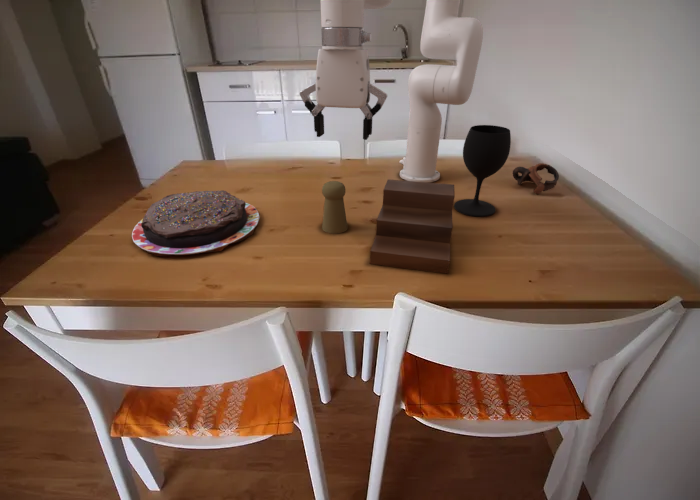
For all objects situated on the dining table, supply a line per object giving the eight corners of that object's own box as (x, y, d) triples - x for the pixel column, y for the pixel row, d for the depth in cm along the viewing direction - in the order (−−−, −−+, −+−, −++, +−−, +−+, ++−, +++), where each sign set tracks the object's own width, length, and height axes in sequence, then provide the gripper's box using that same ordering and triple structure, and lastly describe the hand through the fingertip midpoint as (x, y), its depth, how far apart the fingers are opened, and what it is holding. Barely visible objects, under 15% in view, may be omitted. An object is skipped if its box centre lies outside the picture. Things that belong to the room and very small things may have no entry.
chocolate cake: (256, 252, 74) (252, 224, 70) (112, 265, 70) (99, 236, 67) (262, 199, 97) (259, 176, 94) (154, 206, 94) (147, 183, 90)
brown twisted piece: (544, 183, 108) (562, 165, 101) (543, 207, 103) (562, 189, 96) (506, 171, 108) (521, 152, 101) (504, 194, 104) (519, 176, 97)
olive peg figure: (348, 222, 86) (348, 178, 80) (346, 234, 80) (345, 188, 75) (324, 221, 86) (322, 177, 80) (320, 232, 81) (317, 187, 75)
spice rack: (447, 273, 67) (455, 226, 62) (369, 263, 70) (371, 218, 65) (448, 224, 85) (454, 184, 79) (385, 217, 88) (387, 179, 82)
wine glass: (502, 207, 92) (521, 128, 82) (484, 221, 86) (502, 137, 75) (465, 197, 98) (479, 122, 88) (446, 208, 92) (458, 129, 81)
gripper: (392, 40, 66) (387, 135, 74) (304, 40, 69) (308, 130, 78) (387, 40, 59) (382, 144, 68) (289, 40, 63) (296, 138, 71)
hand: (343, 136), depth 73 cm, fingers open, 9 cm apart
